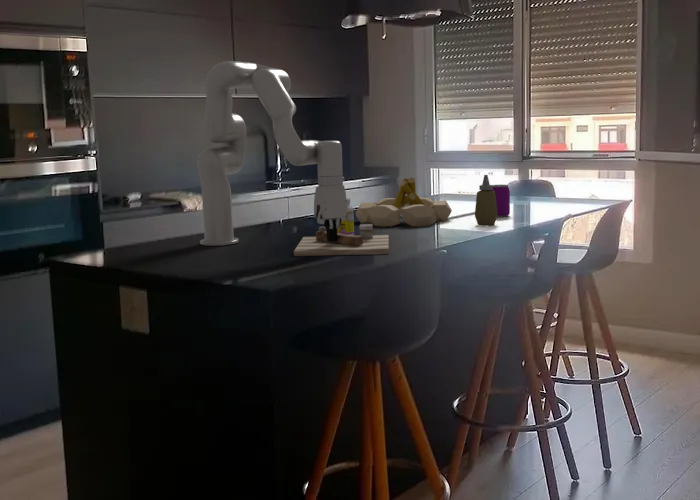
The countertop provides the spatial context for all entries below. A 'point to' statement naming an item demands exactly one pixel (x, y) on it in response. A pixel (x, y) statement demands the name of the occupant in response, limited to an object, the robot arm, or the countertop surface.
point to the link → (341, 238)
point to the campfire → (404, 208)
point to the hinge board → (345, 245)
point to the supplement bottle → (347, 221)
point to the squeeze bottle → (486, 204)
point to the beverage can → (502, 200)
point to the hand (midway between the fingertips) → (332, 241)
